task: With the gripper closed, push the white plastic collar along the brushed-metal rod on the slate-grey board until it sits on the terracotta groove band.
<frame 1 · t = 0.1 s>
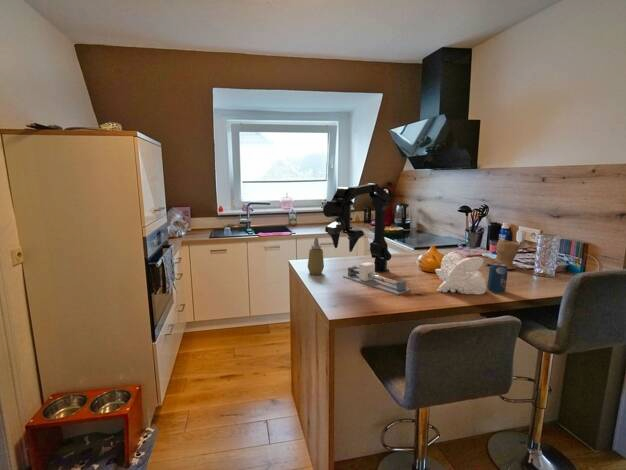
hand: (343, 249, 159), 14 cm above the kitchen counter, tool pointing down, fingers open, 9 cm apart
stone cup: (501, 267, 190), on the kitchen counter
white sculpture: (457, 290, 151), on the kitchen counter
rail: (375, 283, 158), resting on base board
collar: (366, 271, 161), point 4 cm above the kitchen counter, slide at 0.0 cm
squeeze bottle: (315, 273, 172), on the kitchen counter
soda can: (495, 291, 150), on the kitchen counter
base board: (375, 283, 158), on the kitchen counter
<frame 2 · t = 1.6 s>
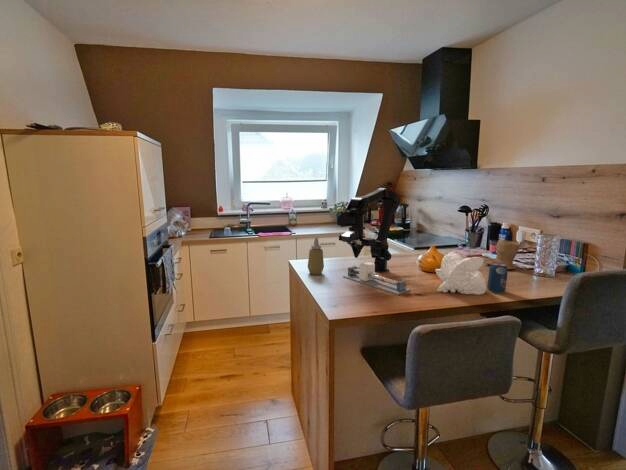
hand: (356, 257, 165), 10 cm above the kitchen counter, tool pointing down, fingers closed
nothing on the kitchen counter moved.
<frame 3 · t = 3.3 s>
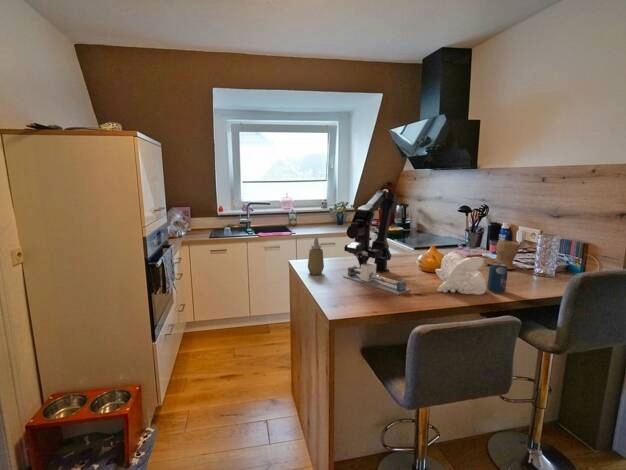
hand: (361, 268, 163), 5 cm above the kitchen counter, tool pointing down, fingers closed
collar: (368, 271, 160), point 4 cm above the kitchen counter, slide at 0.8 cm, touching gripper
everything else where it was.
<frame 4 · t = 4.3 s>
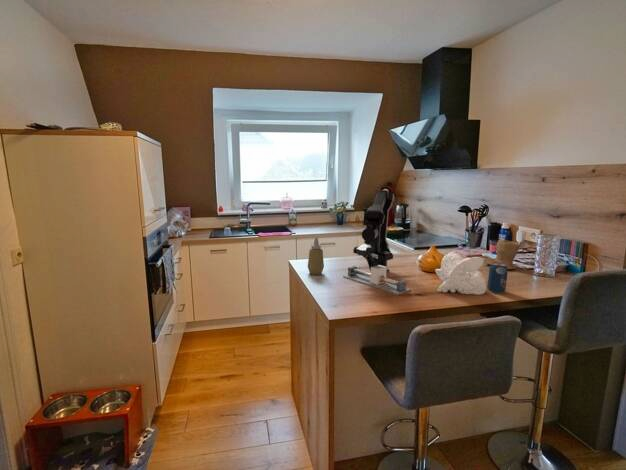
hand: (371, 271, 159), 5 cm above the kitchen counter, tool pointing down, fingers closed
collar: (378, 274, 156), point 4 cm above the kitchen counter, slide at 6.6 cm, touching gripper
everything else where it was.
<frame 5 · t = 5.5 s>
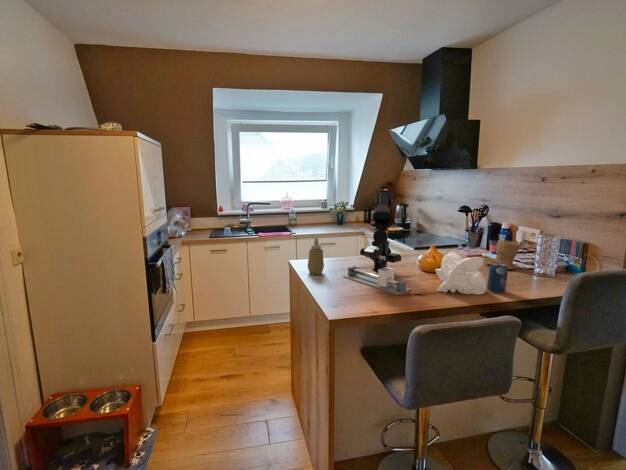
hand: (378, 273, 156), 5 cm above the kitchen counter, tool pointing down, fingers closed
collar: (385, 276, 153), point 4 cm above the kitchen counter, slide at 10.7 cm, touching gripper
everything else where it was.
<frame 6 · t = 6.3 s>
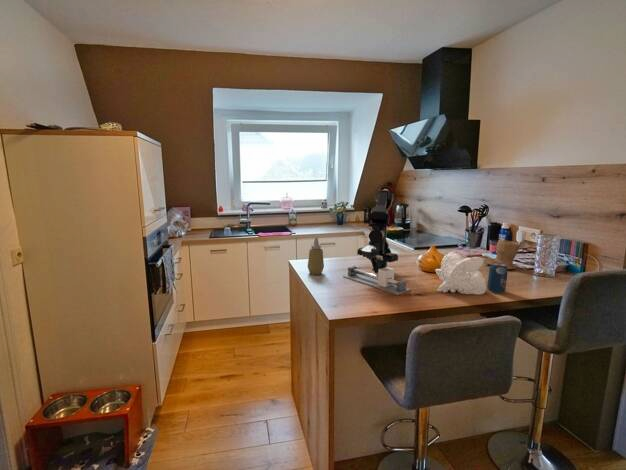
hand: (376, 273, 157), 5 cm above the kitchen counter, tool pointing down, fingers closed
collar: (386, 276, 153), point 4 cm above the kitchen counter, slide at 10.8 cm
everything else where it was.
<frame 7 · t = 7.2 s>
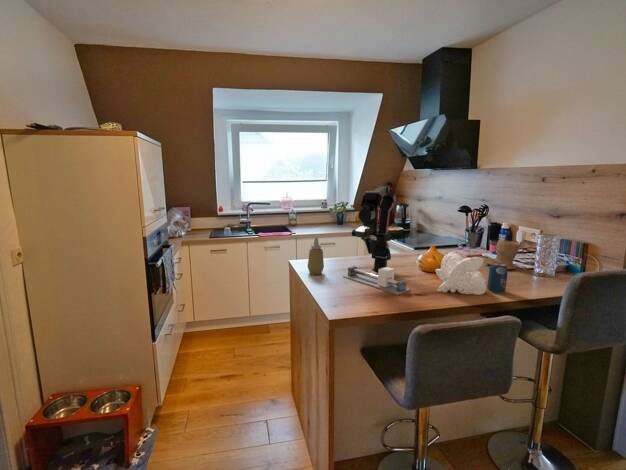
hand: (370, 253, 159), 13 cm above the kitchen counter, tool pointing down, fingers closed
nothing on the kitchen counter moved.
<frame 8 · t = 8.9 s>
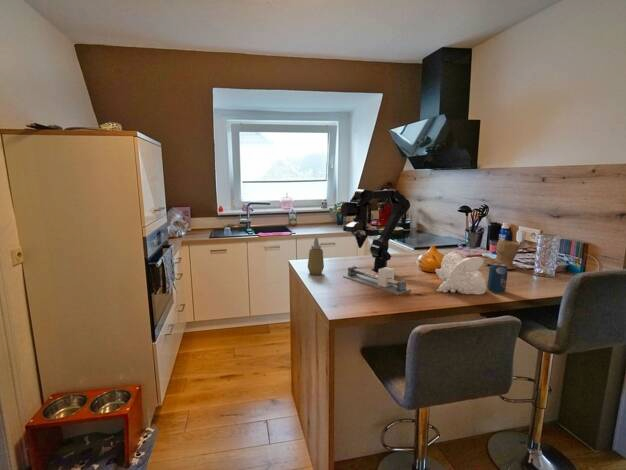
hand: (360, 247, 171), 13 cm above the kitchen counter, tool pointing down, fingers closed
nothing on the kitchen counter moved.
at the end: collar slide at 10.8 cm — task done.
